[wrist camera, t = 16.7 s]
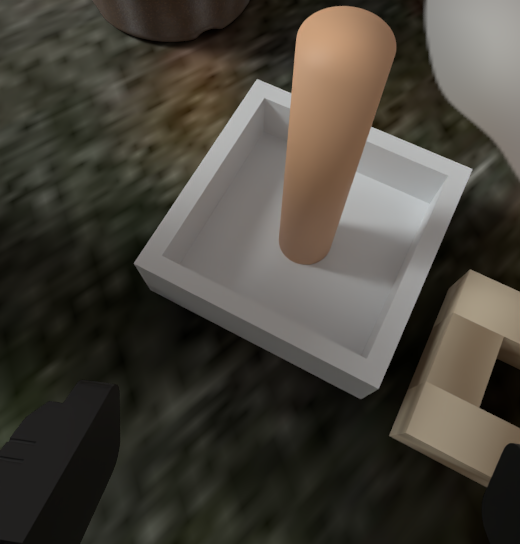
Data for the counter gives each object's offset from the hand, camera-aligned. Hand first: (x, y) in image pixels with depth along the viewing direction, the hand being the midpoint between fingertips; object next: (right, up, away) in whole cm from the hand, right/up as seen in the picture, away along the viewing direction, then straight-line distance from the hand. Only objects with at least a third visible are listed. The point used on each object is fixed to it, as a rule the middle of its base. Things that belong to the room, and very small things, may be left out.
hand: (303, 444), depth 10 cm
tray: (+2, +5, +18) cm, 19 cm away
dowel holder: (+12, -3, +15) cm, 20 cm away
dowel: (+2, +5, +17) cm, 18 cm away
